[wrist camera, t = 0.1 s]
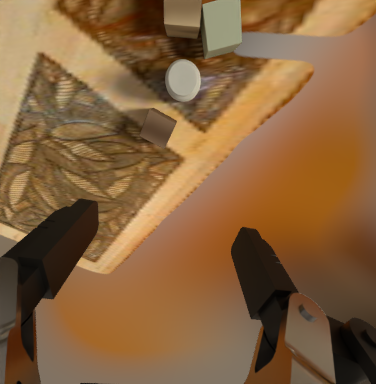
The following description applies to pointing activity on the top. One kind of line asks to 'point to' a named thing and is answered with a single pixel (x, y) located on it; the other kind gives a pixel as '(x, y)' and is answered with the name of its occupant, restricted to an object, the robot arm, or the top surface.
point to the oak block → (182, 18)
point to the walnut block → (157, 127)
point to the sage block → (220, 27)
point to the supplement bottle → (182, 80)
